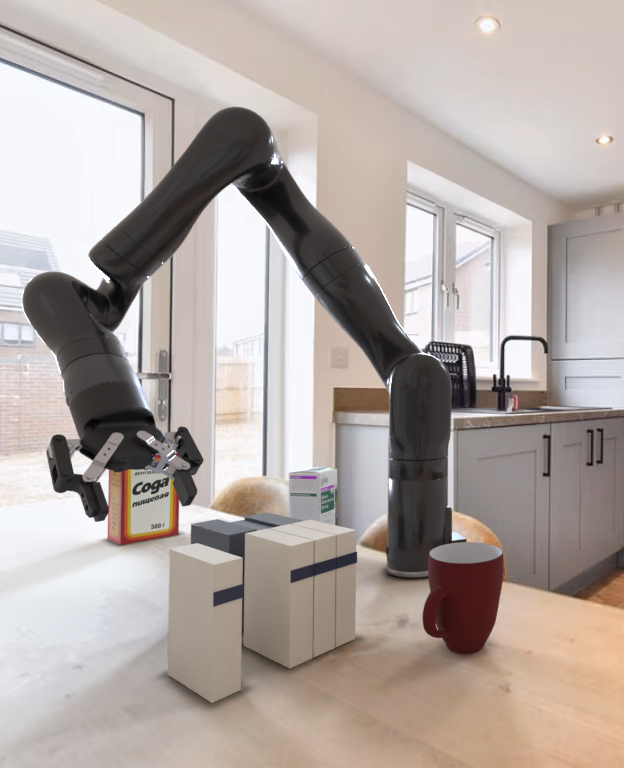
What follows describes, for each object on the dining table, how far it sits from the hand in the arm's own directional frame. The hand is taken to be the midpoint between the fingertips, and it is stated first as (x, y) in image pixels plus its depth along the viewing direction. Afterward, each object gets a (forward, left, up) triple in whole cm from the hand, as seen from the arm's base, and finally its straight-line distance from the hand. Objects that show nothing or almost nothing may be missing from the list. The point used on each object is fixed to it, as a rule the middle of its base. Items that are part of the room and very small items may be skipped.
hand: (148, 509), depth 60 cm
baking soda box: (+9, -51, -14) cm, 54 cm away
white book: (-7, +13, -14) cm, 20 cm away
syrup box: (-19, -25, -14) cm, 35 cm away
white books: (-15, +8, -14) cm, 22 cm away
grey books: (-10, -3, -14) cm, 18 cm away
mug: (-30, +17, -14) cm, 38 cm away
